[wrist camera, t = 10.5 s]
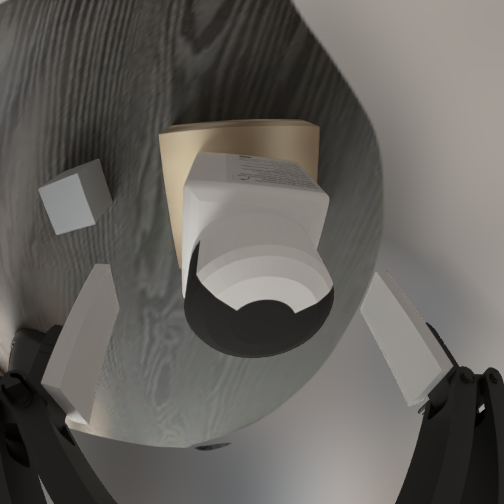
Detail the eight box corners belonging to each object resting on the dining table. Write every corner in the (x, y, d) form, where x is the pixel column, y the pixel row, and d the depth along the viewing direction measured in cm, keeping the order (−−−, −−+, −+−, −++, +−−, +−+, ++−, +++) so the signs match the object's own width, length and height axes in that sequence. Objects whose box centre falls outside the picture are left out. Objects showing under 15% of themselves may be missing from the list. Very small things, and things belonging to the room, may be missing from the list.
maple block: (186, 236, 30) (179, 268, 25) (172, 125, 24) (158, 134, 19) (295, 228, 31) (310, 259, 26) (299, 118, 24) (319, 126, 19)
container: (280, 246, 25) (322, 371, 14) (191, 240, 24) (173, 372, 13) (298, 160, 21) (379, 249, 10) (196, 150, 20) (162, 233, 9)
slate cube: (76, 213, 26) (56, 235, 22) (62, 172, 24) (38, 189, 20) (113, 202, 27) (95, 224, 22) (99, 158, 24) (77, 173, 20)
